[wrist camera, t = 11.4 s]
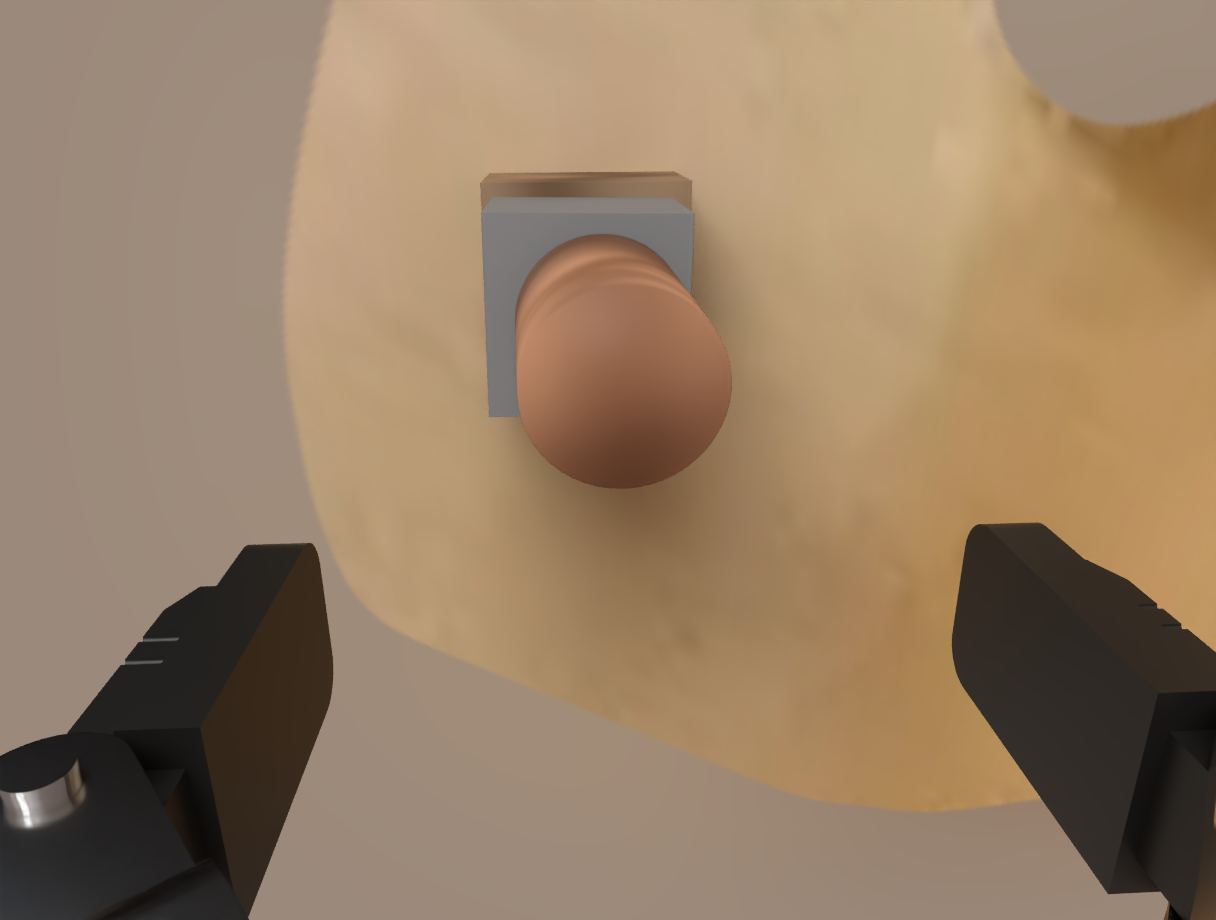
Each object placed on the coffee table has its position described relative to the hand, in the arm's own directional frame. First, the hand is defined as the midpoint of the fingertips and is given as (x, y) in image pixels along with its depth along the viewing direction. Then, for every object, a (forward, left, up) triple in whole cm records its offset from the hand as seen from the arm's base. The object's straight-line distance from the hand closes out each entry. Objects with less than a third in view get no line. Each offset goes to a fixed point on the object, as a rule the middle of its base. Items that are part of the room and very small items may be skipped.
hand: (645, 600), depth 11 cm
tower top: (0, 0, -22) cm, 22 cm away
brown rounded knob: (0, 0, -16) cm, 16 cm away
